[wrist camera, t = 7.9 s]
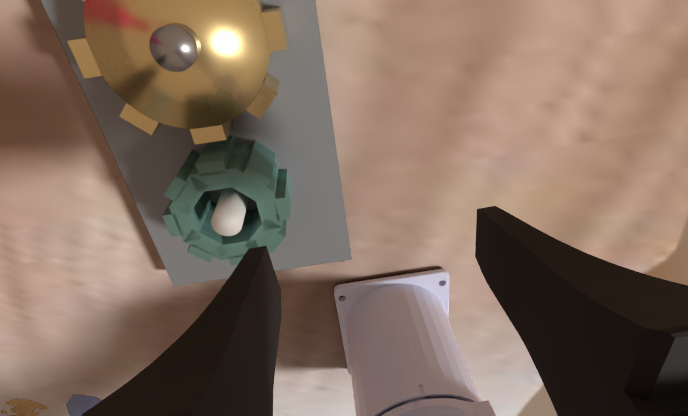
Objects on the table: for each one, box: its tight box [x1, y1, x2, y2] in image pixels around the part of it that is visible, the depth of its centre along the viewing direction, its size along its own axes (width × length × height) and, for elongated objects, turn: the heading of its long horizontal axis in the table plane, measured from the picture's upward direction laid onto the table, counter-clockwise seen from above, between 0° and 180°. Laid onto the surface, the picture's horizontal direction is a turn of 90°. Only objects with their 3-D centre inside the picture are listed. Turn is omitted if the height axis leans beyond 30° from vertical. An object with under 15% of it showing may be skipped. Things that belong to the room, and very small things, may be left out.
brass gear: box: [67, 0, 288, 144], centre depth 16 cm, size 8×8×3 cm
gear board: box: [41, 0, 352, 286], centre depth 19 cm, size 18×11×5 cm, turn 7°
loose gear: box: [162, 135, 292, 266], centre depth 20 cm, size 6×6×3 cm
